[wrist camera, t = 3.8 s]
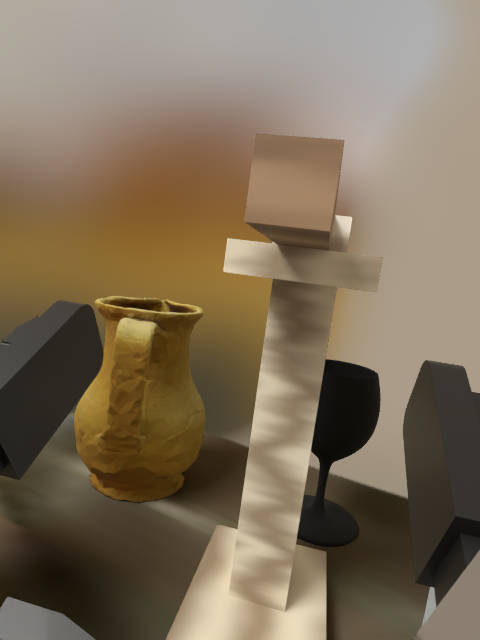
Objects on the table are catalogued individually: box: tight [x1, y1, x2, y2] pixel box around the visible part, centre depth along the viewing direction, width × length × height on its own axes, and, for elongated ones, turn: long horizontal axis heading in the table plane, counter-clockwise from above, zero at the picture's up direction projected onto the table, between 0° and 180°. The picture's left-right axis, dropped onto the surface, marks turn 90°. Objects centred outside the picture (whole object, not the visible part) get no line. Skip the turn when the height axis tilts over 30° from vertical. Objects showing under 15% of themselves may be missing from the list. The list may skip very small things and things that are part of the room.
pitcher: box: [74, 296, 205, 502], centre depth 56 cm, size 17×19×25 cm
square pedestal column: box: [166, 238, 383, 640], centre depth 35 cm, size 12×18×32 cm, turn 168°
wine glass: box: [297, 359, 380, 546], centre depth 52 cm, size 10×10×20 cm
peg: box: [245, 134, 352, 253], centre depth 25 cm, size 22×6×3 cm, turn 168°
